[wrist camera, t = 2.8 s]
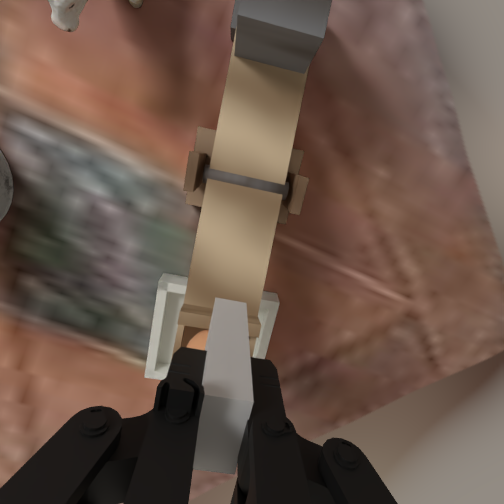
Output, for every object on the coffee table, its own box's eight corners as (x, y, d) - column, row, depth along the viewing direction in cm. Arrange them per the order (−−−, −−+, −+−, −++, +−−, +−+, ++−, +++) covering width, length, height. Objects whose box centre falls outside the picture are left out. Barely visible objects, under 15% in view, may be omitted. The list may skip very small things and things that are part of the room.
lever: (242, -24, 21) (249, -102, 16) (324, 0, 22) (355, -68, 17) (169, 360, 23) (154, 398, 18) (247, 372, 23) (255, 412, 18)
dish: (163, 272, 30) (158, 281, 28) (276, 293, 31) (279, 302, 29) (149, 364, 32) (144, 377, 30) (254, 379, 33) (255, 393, 31)
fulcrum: (200, 127, 26) (187, 118, 19) (300, 151, 27) (323, 150, 20) (187, 201, 28) (172, 217, 21) (283, 220, 29) (298, 242, 22)
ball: (193, 314, 21) (185, 342, 18) (245, 323, 22) (248, 352, 18) (184, 360, 22) (175, 396, 19) (235, 368, 22) (235, 405, 19)
